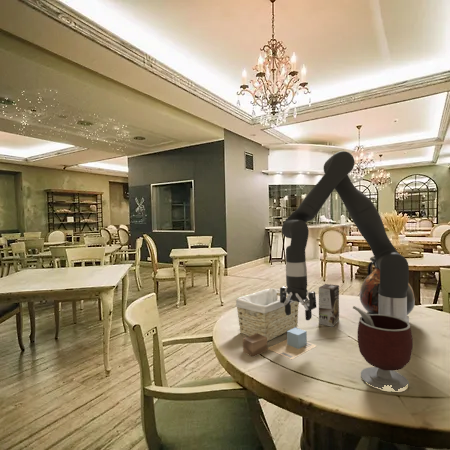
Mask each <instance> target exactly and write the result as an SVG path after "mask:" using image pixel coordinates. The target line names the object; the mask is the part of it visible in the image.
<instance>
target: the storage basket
mask: <svg viewBox="0 0 450 450" xmlns="http://www.w3.org/2000/svg"><path fill="white" fill-rule="evenodd" d="M278 296H279V297H280V288H273V287H269V288H266V289H262V290H259V291H256V292H254V293H253V292H252V293H249V294H247V295H243V296H242V295H241V296H240V297H237V298H236V299H235V307H236V310H237V318H238V323H239V324H238V326H239V332H240V333H241V334H243V335H245V336H247V337H248V336H251V335H254V334H256V333H258V334H260V335H262V336H265V337H267V342H269V341H271V340H273V339H275V338H277V337H279V336H282V335H284V334H285V333H286V334H287V331H289V330H291V329H293V328H295V327H296V328H298V327H299V325H298V320H299V306H300V305H299V304H300V302H297V301H291V303H290V305H291V314H290V315H286V313H285V305H284V304H283V303H281V302H280V299H278ZM287 297H288V293H286V298H287Z"/></svg>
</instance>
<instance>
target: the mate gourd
mask: <svg viewBox="0 0 450 450" xmlns="http://www.w3.org/2000/svg"><path fill="white" fill-rule="evenodd" d="M352 309H354V310H356V312H358V313H359V314H360V317H359V321H358V325H357V345H358V349H359V353H360V355H361V356H362V357H363V359H364V361H366V363H367V364H369V365H370V366H369V367H365V368H363V369H362V370H361V372H360V379H361V378H362V379H363V380H364V381H365V382H367V383H368V384H370V385H372V386H374V387H378V388H381V389H383V388H382V387H384V385H386V386H387V385H389V386H390V385H392V387H391V388H393V389H394V390H395V391H398V389H400V388H403V387H405V386H406V385H407V384H408V386H409V387H410V381H409V380H408V379H407V378H406V377H405V376H404V375H403V374H401V373H399V372H398V371H401V370H402V369H404V368H405V366H407V365H408V364H409V363H410V361H411V358H412V353H413V345H414V344H413V341H414V340H413V334H412V329H411V324H410V322H409V323H408V322H407V321H405V320H403V319H400V318H397V317H394V316H389V315H381V314H367V311H364V310H363V309H361V308H359V307H357V306H356V305H353V306H352ZM362 379H361V380H362ZM363 380H362V381H363ZM364 381H363V382H364ZM365 382H364V383H365Z"/></svg>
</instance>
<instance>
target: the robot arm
mask: <svg viewBox="0 0 450 450" xmlns="http://www.w3.org/2000/svg"><path fill="white" fill-rule="evenodd" d="M354 167H355V158H354V156H353V155H352V153H350V152H349V151H345V150H341V151H337V152H336V153H334V154H333V155H332V156H331V157H329V158H328V159H327V160H326V161H325V163H324V165H323V173H324V174H323V176H322V177H321V178H320V180H319V181H318V182H317V183H316V184H315V185H314V186H313V188H312V189H311V190H310V191H309V192H308V194H306V196H305V197H304V199H303V200H302V201H301V202H300V204H299V206H298V207H297V208H296V210H294V211H293V212H292V213H291V214H290V215H289V216H287V218H286V219H285V221H283V223H282V226H281V232H282V235H283V236H284V237H285V238H287V239H290V245H288V246H286V248H285V279H286V281H285V282H286V284H285V285H286V286H287V287H286V286H281V287H280V288H279V289H280V296H279V300H280V302H281V303H283V304H284V305H285V313H286V315H290V314H291V305H290V303H291V301H297V302H299V303H301V305H302V306H303V307H304V309H305V310H304V312H305V313H304V314H305V315H304V316H305V321H310V320H311V319H312V318H313V317H312V314H313V313H312V310H314V309H316V308H317V299H316V292H315V291H308V289H307V288H308V270H307V269H308V268H307V267H308V266H307V263H306V262H307V261H306V259H307V257H306V248H307V244H308V239H309V226H308V224H307V222H310V221H312V220H314V219H315V217H316V216H317V215H318V213H319V212H320V210H321V209H322V207H323V206H324V205H325V203H326V201H327V200H328V199H329V197H330V195H331V194H332V193H333V191H334V190H335V191H336V192H337V194H338V196H339V198H340V200H341V201H342V203H343V205H344V207H345V208H346V211H347V212H348V214H349V216H350V219H351V220H352V222H353V224H354V225H355V227H356V228H357V230H358V231H359V232H360V235H361V236H362V237H363V239H364V240H365V242H367V244H368V246H369V248H370V250H371V253H372V255H373V257H375V260H376V262H377V265H378V267H379V269H380V285H379V314H381V315H389V316H394V317H397V318H400V319H403V320H405V321H407V322H408V323H409V324H410V317H409V315H407V291H408V284H410V280H409V276H410V268H409V267H410V266H409V262H408V260H407V258H405V256H404V255H402V254H400V253H399V252H398V250H397V249H396V247H395V246H394V245H393V243H392V241H391V240H390V239H389V237H388V235H387V232H386V229H385V225H384V223H383V219H382V217H381V215H380V213H379V211H378V209H377V207H376V206H375V204H374V202H373V201H372V200H371V199H370V198H369V197H368V196H367V195H365V194H364V193H363V192H362V191H360V190H359V189H358V188H357V187H356V186H355V185H354V184H353V182H352V180H351V179H350V176H349V174H350V173H351V172H352V171H353V169H354ZM286 293H288V297H286Z"/></svg>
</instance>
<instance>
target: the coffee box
mask: <svg viewBox="0 0 450 450" xmlns="http://www.w3.org/2000/svg"><path fill="white" fill-rule="evenodd" d="M339 322H340V286H339V285H338V284H331V283H330V284H328V283H324V284H323V285H321V286H319V287H318V324H319V325H323V326H328V327H334V326H335V325H336V324H337V323H339Z"/></svg>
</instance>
